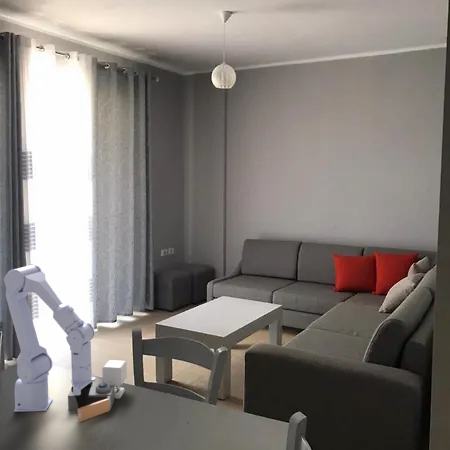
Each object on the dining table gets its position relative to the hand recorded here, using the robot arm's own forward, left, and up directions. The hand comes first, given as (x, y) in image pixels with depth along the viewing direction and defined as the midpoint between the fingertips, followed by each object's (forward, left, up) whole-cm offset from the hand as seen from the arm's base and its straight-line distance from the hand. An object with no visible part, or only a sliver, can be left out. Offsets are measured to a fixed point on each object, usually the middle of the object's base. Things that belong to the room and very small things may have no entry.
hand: (82, 407), depth 157 cm
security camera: (+7, +14, -2) cm, 16 cm away
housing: (+1, +7, -2) cm, 7 cm away
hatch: (+4, -1, -2) cm, 5 cm away
